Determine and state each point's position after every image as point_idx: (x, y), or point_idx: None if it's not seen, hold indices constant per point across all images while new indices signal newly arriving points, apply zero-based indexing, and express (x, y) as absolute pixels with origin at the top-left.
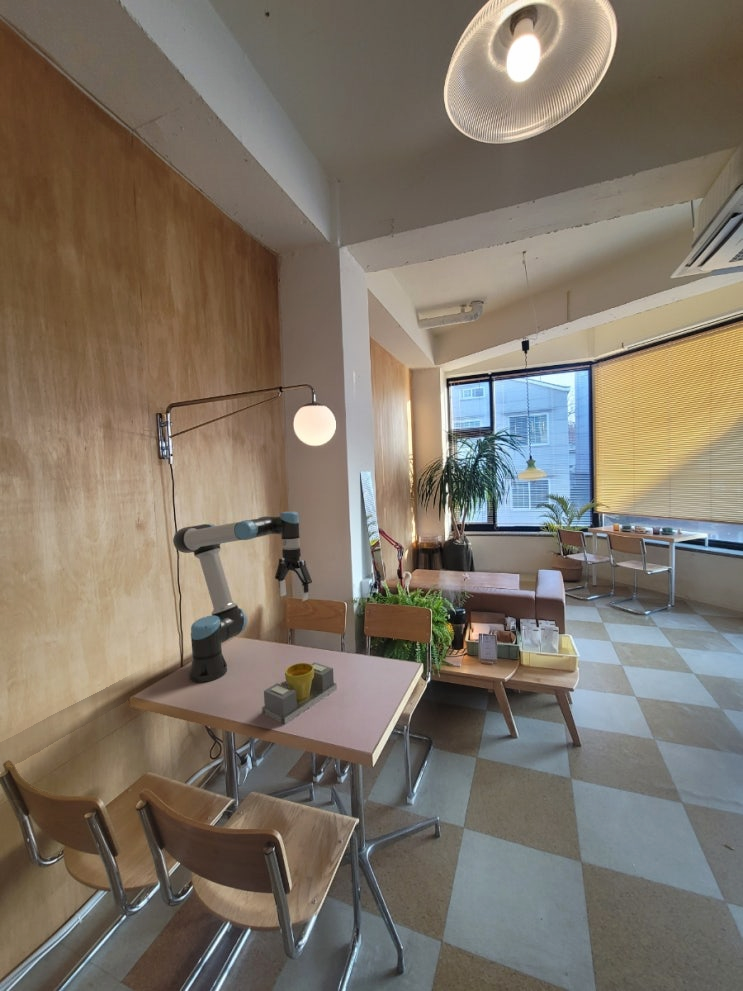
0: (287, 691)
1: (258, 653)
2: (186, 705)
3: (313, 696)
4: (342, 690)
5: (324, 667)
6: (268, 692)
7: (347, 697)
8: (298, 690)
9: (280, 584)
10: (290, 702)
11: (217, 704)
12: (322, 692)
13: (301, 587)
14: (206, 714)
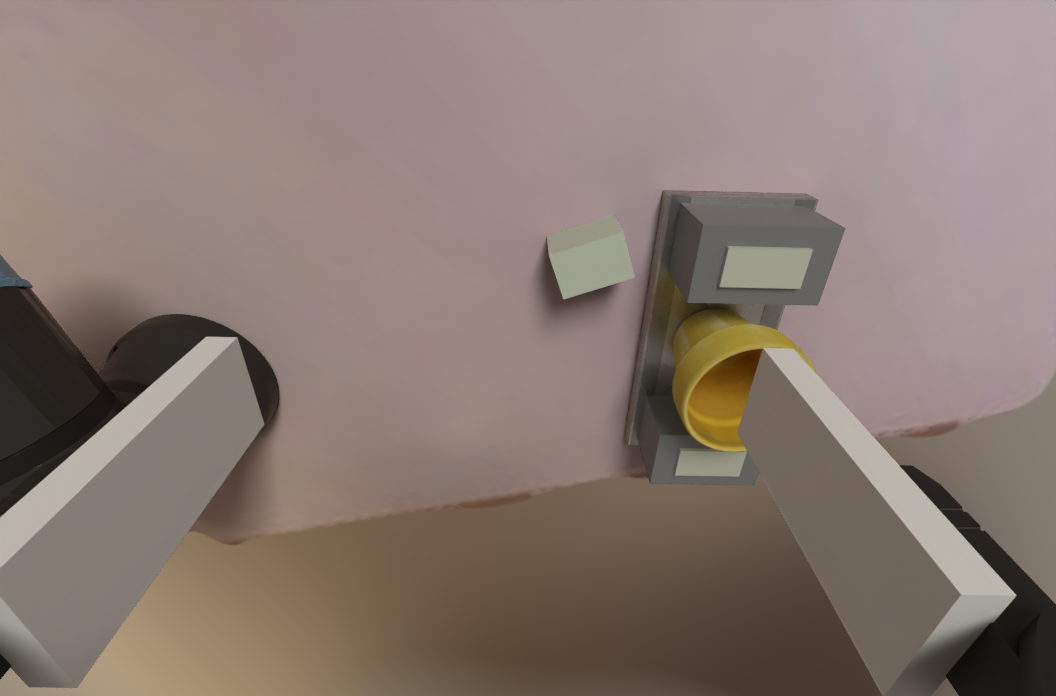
0: (744, 456)
1: (135, 118)
2: (380, 505)
3: (765, 324)
4: (838, 189)
5: (800, 252)
6: (675, 483)
7: (882, 223)
8: (742, 391)
9: (126, 611)
10: None
11: (455, 466)
12: None
13: (851, 636)
14: (478, 502)
